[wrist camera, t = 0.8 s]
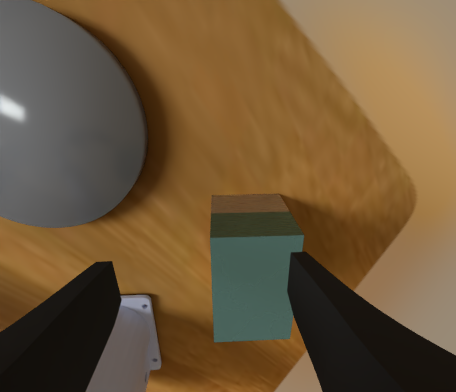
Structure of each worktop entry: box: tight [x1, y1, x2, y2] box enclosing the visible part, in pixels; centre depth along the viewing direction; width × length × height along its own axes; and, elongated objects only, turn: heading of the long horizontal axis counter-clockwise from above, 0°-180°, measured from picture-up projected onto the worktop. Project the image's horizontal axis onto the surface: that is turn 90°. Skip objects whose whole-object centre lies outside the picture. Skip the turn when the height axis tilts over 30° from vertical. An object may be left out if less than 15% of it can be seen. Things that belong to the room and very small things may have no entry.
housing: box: [210, 194, 304, 342], centre depth 17 cm, size 8×5×6 cm, turn 0°
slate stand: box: [0, 0, 148, 228], centre depth 15 cm, size 13×13×2 cm
